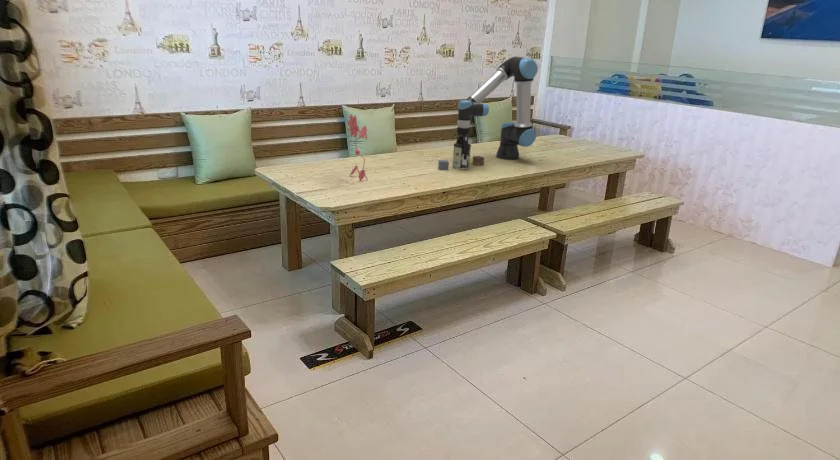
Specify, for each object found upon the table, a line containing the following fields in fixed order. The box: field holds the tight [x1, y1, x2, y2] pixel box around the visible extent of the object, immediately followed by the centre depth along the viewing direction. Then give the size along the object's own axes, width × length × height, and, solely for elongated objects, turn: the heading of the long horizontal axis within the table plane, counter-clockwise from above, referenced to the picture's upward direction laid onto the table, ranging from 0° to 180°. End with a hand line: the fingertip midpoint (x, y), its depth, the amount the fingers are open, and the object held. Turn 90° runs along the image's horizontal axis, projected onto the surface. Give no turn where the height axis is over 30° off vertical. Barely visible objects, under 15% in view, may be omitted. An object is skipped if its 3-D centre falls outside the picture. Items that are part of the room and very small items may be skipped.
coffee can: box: [452, 143, 472, 170], centre depth 329 cm, size 10×10×14 cm
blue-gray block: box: [437, 159, 450, 171], centre depth 324 cm, size 5×5×5 cm
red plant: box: [341, 113, 369, 185], centre depth 289 cm, size 15×26×35 cm, turn 29°
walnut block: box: [472, 155, 485, 167], centre depth 339 cm, size 5×5×5 cm
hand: (461, 162), depth 330 cm, fingers open, 13 cm apart
